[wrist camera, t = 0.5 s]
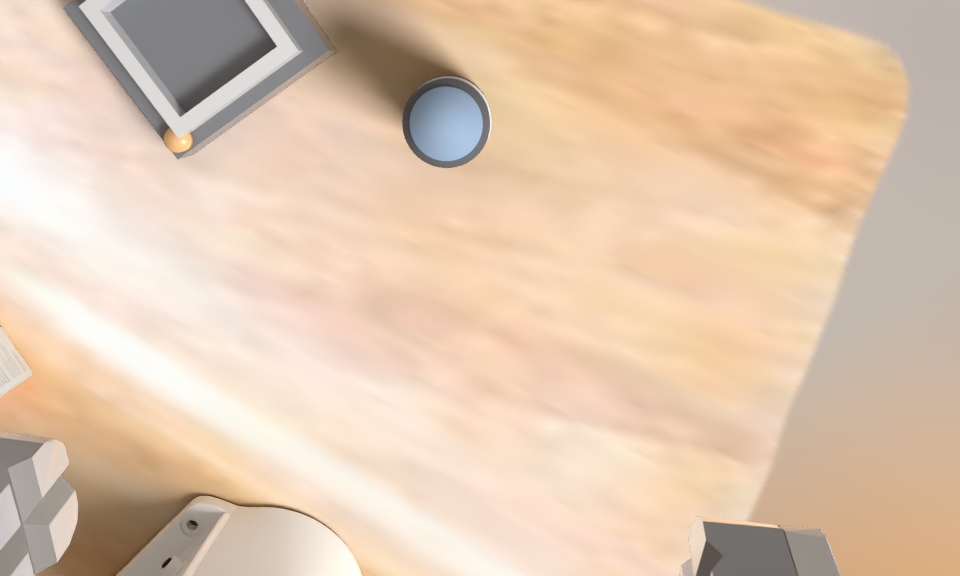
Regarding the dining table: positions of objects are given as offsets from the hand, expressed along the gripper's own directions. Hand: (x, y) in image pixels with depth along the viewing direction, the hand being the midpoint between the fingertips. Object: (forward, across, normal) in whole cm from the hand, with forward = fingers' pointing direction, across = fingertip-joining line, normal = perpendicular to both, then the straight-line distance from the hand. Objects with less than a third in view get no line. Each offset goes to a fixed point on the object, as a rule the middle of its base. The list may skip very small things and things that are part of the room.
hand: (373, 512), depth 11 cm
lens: (+46, -4, -9) cm, 47 cm away
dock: (+46, -20, -5) cm, 50 cm away
